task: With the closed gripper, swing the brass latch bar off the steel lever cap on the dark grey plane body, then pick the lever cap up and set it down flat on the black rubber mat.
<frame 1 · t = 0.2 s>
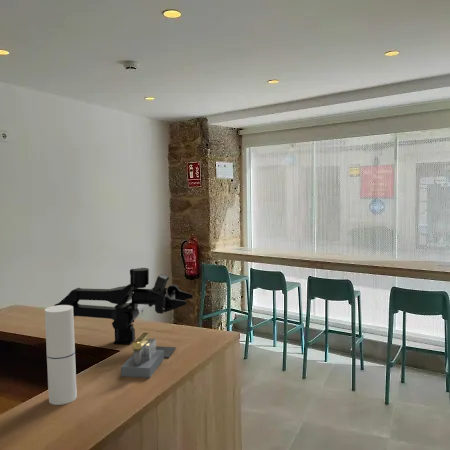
hand: (189, 299, 159), 17 cm above the counter, tool horizontal, fingers open, 9 cm apart
cylindrical container: (63, 399, 120), on the counter
plane body: (143, 367, 140), on the counter
brass latch: (141, 341, 138), point 9 cm above the counter, hinge at 0.0°
lever cap: (145, 355, 142), point 3 cm above the counter, touching plane body
rubber mat: (155, 352, 153), on the counter
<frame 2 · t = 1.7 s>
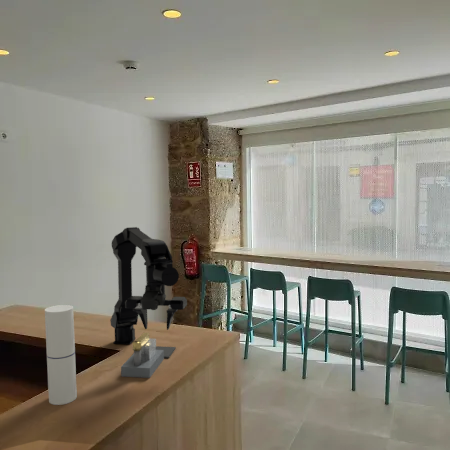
hand: (156, 329, 140), 12 cm above the counter, tool pointing down, fingers open, 7 cm apart
nothing on the counter moved.
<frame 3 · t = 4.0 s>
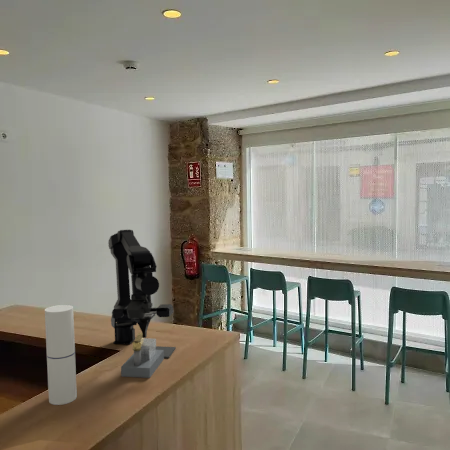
hand: (144, 337, 141), 9 cm above the counter, tool pointing down, fingers closed, pressing on brass latch
brass latch: (138, 341, 138), point 9 cm above the counter, hinge at 11.4°, touching gripper
everything else where it was.
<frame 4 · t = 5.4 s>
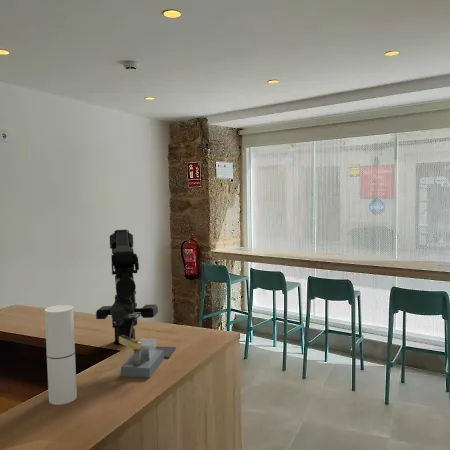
hand: (129, 338, 140), 9 cm above the counter, tool pointing down, fingers closed, pressing on brass latch
brass latch: (130, 342, 137), point 9 cm above the counter, hinge at 52.6°, touching gripper
everything else where it was.
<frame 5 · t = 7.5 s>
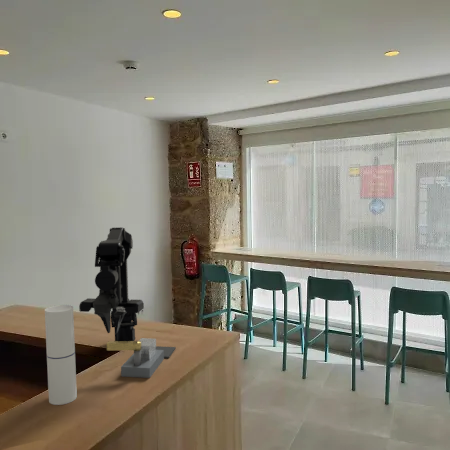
hand: (112, 332, 136), 12 cm above the counter, tool pointing down, fingers closed
brass latch: (124, 345, 134), point 9 cm above the counter, hinge at 97.2°
everything else where it was.
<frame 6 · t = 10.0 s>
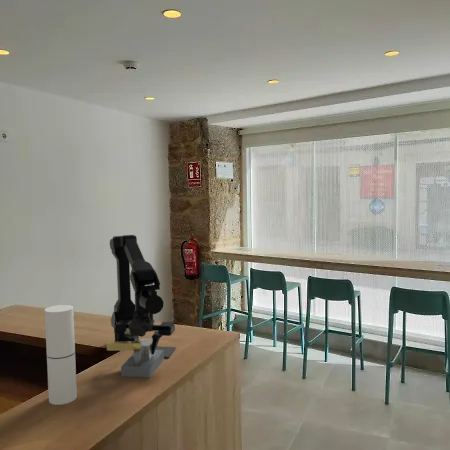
hand: (145, 353, 142), 4 cm above the counter, tool pointing down, fingers closed on lever cap, 5 cm apart
lever cap: (145, 355, 142), point 3 cm above the counter, touching gripper, plane body
everything else where it was.
when the fingers open (2 cm above the counter, at t = 14.8 s): lever cap stays where it is, resting on rubber mat.
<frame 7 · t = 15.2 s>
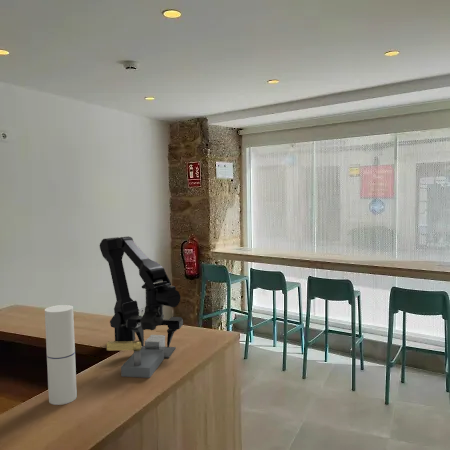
hand: (155, 346, 152), 2 cm above the counter, tool pointing down, fingers open, 9 cm apart
lever cap: (155, 350, 153), point 1 cm above the counter, touching rubber mat
everything else where it was.
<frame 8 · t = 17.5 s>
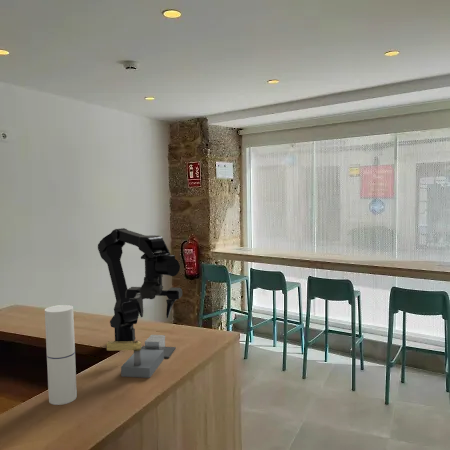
hand: (154, 317, 152), 12 cm above the counter, tool pointing down, fingers open, 9 cm apart
nothing on the counter moved.
at the end: brass latch at +97° (first picture: +0°); lever cap inside the target area (0.1 cm from its centre), point 0.6 cm above the counter; lever cap tilted 0° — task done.
